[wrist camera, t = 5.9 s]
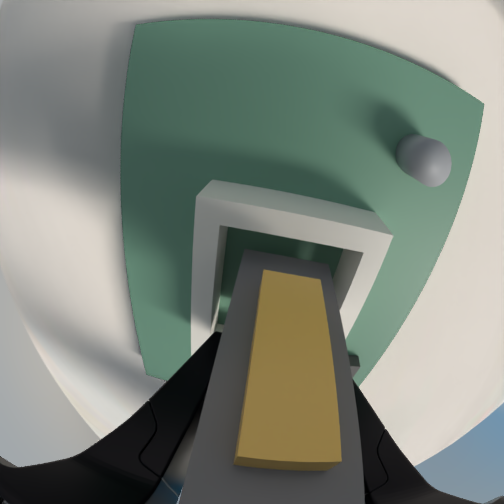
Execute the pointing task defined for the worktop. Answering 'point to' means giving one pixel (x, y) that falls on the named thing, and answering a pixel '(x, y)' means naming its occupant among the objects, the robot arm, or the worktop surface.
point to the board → (283, 175)
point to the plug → (279, 395)
